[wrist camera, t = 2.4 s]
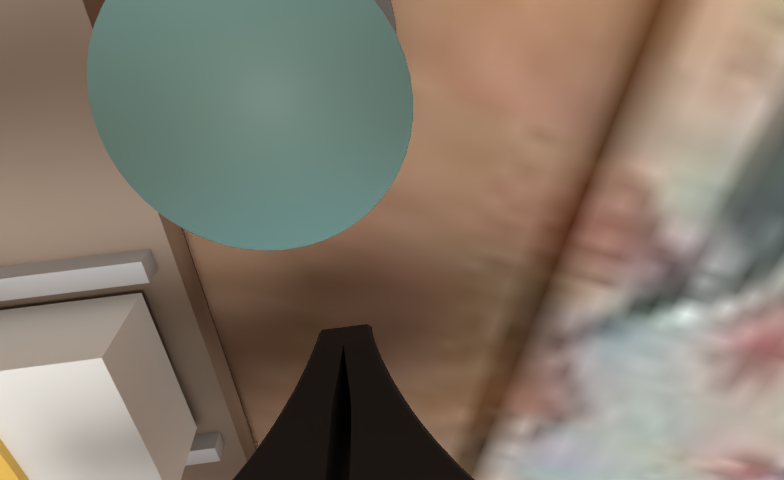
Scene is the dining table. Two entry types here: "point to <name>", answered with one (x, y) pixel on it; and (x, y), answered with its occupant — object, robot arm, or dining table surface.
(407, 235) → the dining table surface
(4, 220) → the board
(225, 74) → the teal round cylinder
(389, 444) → the robot arm
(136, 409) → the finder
